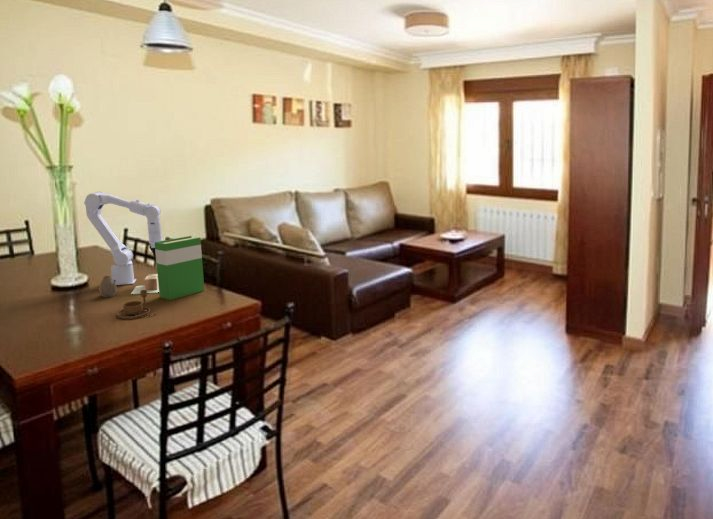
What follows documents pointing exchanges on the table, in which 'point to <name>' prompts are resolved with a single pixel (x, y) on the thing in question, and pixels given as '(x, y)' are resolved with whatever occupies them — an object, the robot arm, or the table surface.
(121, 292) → the table surface
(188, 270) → the hardback book
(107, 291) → the vase
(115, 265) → the robot arm
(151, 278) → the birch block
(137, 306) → the place setting
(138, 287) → the mat
